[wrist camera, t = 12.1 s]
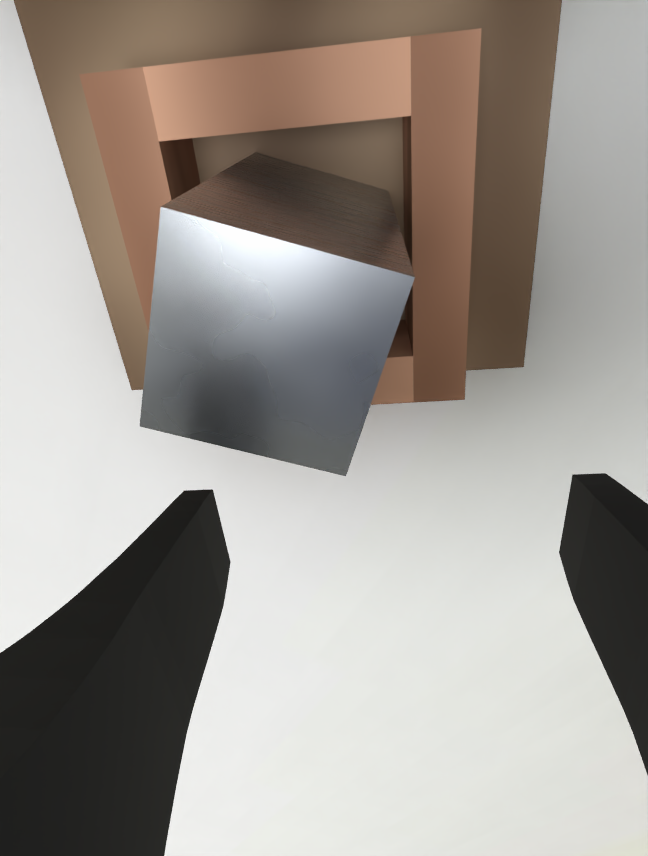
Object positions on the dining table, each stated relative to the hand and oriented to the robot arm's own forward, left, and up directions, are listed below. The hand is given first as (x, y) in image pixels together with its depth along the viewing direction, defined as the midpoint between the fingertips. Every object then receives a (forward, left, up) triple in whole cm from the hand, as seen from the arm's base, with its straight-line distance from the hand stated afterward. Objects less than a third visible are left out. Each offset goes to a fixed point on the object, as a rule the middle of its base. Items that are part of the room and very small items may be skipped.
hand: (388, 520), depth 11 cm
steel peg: (+2, -4, -9) cm, 10 cm away
